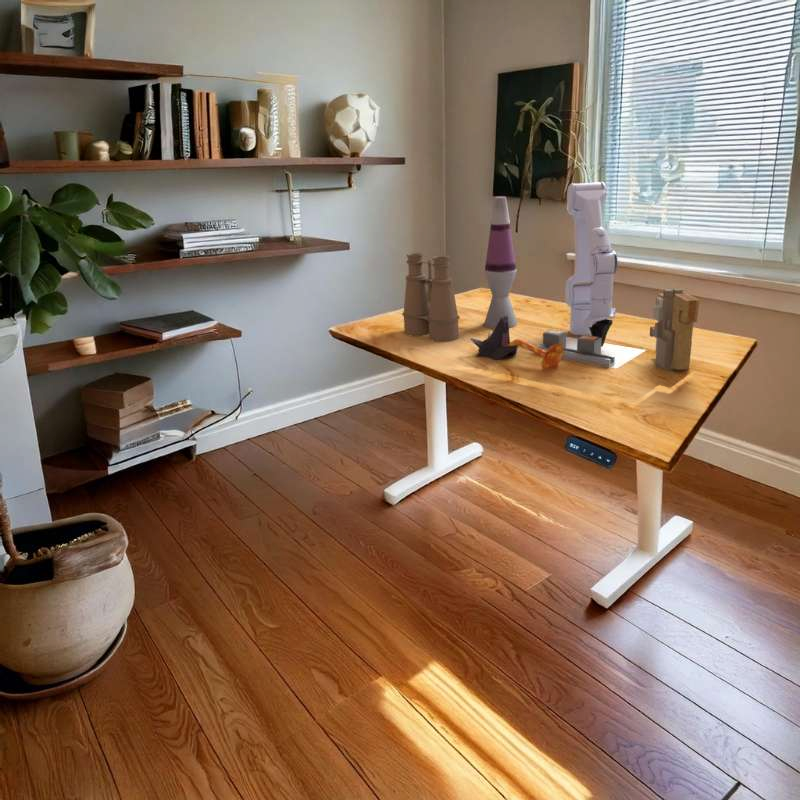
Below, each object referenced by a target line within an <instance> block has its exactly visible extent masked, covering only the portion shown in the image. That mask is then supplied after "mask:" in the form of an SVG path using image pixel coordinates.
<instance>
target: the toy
mask: <svg viewBox="0 0 800 800" xmlns="http://www.w3.org/2000/svg"><path fill="white" fill-rule="evenodd" d="M683 291H684V290H683V289H682V288H672V289H671V288H666V289H663V291H662V292H663V293H658V295H657V297H656V296H655V305H653V311H652V312H653V313H652V318H653V319H655V320H657V322H656V323H654V326H650V328H649V337H652V338H653V337H654V338H656V339H655V350H654V352H655V353H656V354H655V358H650V360H651V361H652V362H653V363H654V364H656V365H657V366H658V367H659V368H661V369H662V370H663V371H664V370H665V371H666V370H667V371H668V370H688V369H690V363H691V362H690V361H691V353H692V343H693V341H692V340H693V331H694V330H693V329H694V323H698V315H699V307H700V300H699V299H698V298H696V297H694V296H693V295H690V294H689V293H687V292H686V293H684V292H683Z"/></svg>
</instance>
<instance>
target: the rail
mask: <svg viewBox="0 0 800 800" xmlns="http://www.w3.org/2000/svg"><path fill="white" fill-rule="evenodd" d="M535 346H536V347H538V348H541V349H543V350H545V351H547V350H548V349H549V348H550V346H552V345H547V344H543V343H539V345H535ZM563 351H564V355H563V356H562V358H563V359H564V360H568V359H569V361H573V360H574V362H578V361H579V362H578V363H583V362H584V363H585V364H589V363H590V364H589V365H594V364H595V366H599V365H600V366H599V367H604V366H605V367H606V368H610V366H612V365H614V364H615V357H614V356H608V355H603V354H597V353H591V352H586V351H580V350H575V349H569V348H563ZM562 358H561V359H562Z"/></svg>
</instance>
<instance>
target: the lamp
mask: <svg viewBox="0 0 800 800" xmlns="http://www.w3.org/2000/svg"><path fill="white" fill-rule="evenodd" d="M493 200H494V201H493V204H492V205H493V207H492V213H491V219H490V230H489V237H488V244H487V250H486V258H485V266H484V270H483V273H484V275H485V278H486V281H487V284H488V287H489V290H490V292H491V293H490V294H491V296H492V297H491V300H490V304H489V306H488V310H487V313H486V317H485V319H484V322H483V325H484V327H487V328H490V329H494V328H495V327H496V326H497V324H498V323H499V321H500V319H501V318H502V317H505V316H508V325H509V327H511V328H513V326H514V327H516V326H517V325H518V321H517V318H516V314H515V312H514V308H513V305H512V303H511V300H510V296H509V295H510V293H511V289H512V286H513V282H514V280H515V278H516V275H517V271H518V270H517V265H516V258H515V252H514V251H515V250H514V246H513V237H512V230H511V220H510V215H509V214H510V213H509V207H508V201H507V197H506V196H495V197H494V199H493ZM515 325H516V326H515Z"/></svg>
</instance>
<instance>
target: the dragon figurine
mask: <svg viewBox="0 0 800 800" xmlns="http://www.w3.org/2000/svg"><path fill="white" fill-rule="evenodd" d="M470 341H471V342H472V343H473V344H474V345H476V346H477V347H478V354H477V356H476V358H489V359H491V360H493V361H500V360H501V359H503V358H504V357H506V356H507V355H516V354H517V353H518V348H519V347H520V348H522V349H525V350H526V351H528V352H530V351H531V352H533V353H532V354H536V355H537V356H539V357H542V360H541V368H542V371H544V370H545V369H547V368H550V367H552V366H558V365H559V364H560V362H561V360H562V356H563V355H564V351H563V345H562V342H560V343H557V344H555V345H552V346H550V348H549V349H548V350H547V351H545V350H543V349H541V348H538V347H536V346H537V345H534V344H531V343H530V342H527V341H525V340H522V339H520V338H517V339H514V340H512V341H511V340H510V328H509V325H508V316H505V317H502V318H501V319H500V321H499V323H498V324H497V326H496V327H495V329H494V328H493V330H492V332H491V331H488V334H487V338H486V339H484V340H480V339H476V338H470ZM531 352H530V353H531Z"/></svg>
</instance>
